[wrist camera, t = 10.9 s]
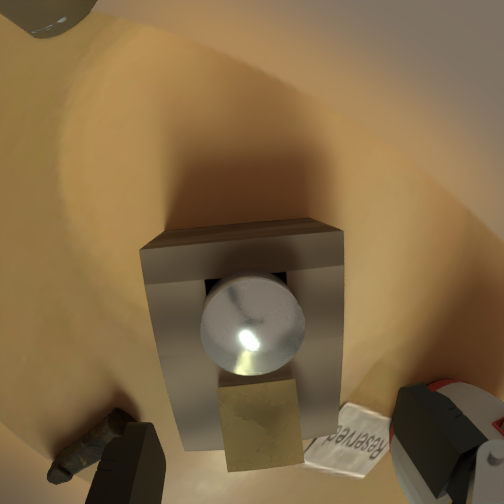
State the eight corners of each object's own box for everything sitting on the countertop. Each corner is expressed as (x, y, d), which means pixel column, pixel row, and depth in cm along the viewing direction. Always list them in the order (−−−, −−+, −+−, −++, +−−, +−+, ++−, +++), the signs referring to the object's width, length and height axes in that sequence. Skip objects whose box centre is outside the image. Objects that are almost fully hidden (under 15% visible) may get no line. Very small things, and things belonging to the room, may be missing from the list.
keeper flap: (217, 386, 20) (216, 387, 19) (292, 377, 20) (295, 378, 19) (228, 467, 18) (227, 472, 17) (301, 458, 18) (304, 462, 17)
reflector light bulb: (204, 250, 25) (193, 286, 16) (275, 243, 26) (303, 275, 16) (212, 316, 26) (208, 379, 17) (279, 309, 27) (305, 368, 18)
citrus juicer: (493, 351, 32) (592, 424, 12) (439, 450, 35) (503, 534, 15) (410, 347, 30) (532, 464, 11) (354, 461, 33) (409, 580, 14)
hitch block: (164, 231, 26) (139, 249, 18) (309, 217, 26) (343, 230, 19) (191, 394, 29) (184, 451, 21) (313, 381, 30) (336, 433, 22)
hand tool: (117, 400, 29) (105, 427, 24) (144, 424, 30) (136, 452, 25) (41, 450, 30) (29, 471, 25) (62, 468, 31) (52, 490, 26)
